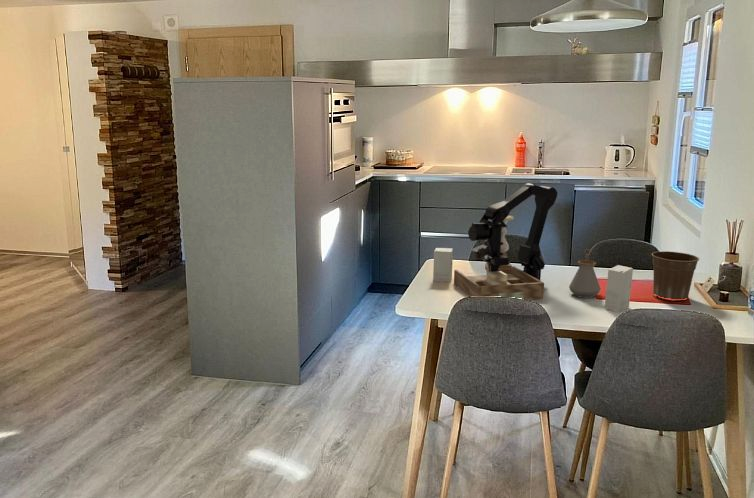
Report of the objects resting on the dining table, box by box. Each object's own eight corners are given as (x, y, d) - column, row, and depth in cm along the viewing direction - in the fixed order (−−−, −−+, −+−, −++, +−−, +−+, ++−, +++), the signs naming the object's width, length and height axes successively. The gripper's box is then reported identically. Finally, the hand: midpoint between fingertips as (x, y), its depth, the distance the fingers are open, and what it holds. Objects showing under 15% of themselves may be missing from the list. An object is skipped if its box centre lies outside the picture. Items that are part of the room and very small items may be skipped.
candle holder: (513, 273, 285) (516, 218, 280) (488, 273, 286) (490, 218, 280) (509, 267, 296) (512, 214, 291) (484, 267, 296) (487, 214, 291)
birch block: (500, 280, 262) (501, 271, 261) (506, 284, 256) (507, 274, 256) (486, 281, 261) (486, 271, 260) (492, 285, 255) (492, 275, 254)
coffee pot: (600, 300, 247) (603, 261, 244) (567, 297, 251) (570, 258, 248) (600, 285, 267) (603, 249, 264) (570, 283, 271) (572, 247, 268)
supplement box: (450, 282, 271) (451, 251, 269) (432, 281, 273) (433, 251, 270) (452, 277, 278) (453, 248, 276) (434, 276, 280) (435, 247, 277)
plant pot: (691, 293, 258) (695, 252, 254) (697, 305, 242) (702, 262, 239) (645, 289, 262) (649, 249, 259) (649, 301, 247) (654, 258, 243)
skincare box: (613, 304, 243) (617, 264, 240) (630, 307, 239) (633, 267, 236) (603, 309, 237) (607, 268, 234) (620, 312, 233) (623, 271, 230)
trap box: (513, 280, 274) (514, 266, 273) (543, 298, 250) (544, 282, 248) (453, 284, 269) (454, 269, 267) (478, 302, 244) (478, 286, 243)
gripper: (466, 234, 267) (464, 272, 270) (483, 244, 249) (481, 284, 252) (492, 233, 269) (490, 271, 273) (511, 243, 251) (509, 283, 255)
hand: (492, 277), depth 263 cm, fingers closed
